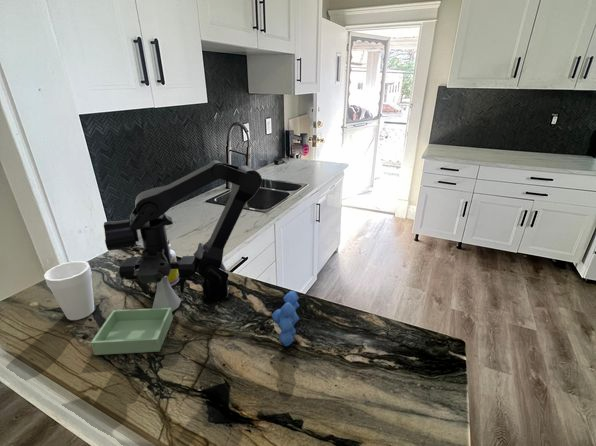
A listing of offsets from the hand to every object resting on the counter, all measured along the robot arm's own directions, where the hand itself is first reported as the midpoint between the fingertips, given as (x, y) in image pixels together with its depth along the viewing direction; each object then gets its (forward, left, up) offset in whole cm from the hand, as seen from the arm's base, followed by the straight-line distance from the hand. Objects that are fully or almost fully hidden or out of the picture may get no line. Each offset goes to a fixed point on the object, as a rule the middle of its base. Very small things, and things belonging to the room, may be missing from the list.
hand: (164, 293), depth 85 cm
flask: (0, 0, -4) cm, 4 cm away
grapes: (-32, +14, -4) cm, 35 cm away
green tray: (+4, +11, -4) cm, 12 cm away
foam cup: (+22, +1, -4) cm, 23 cm away
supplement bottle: (+3, -12, -4) cm, 13 cm away
